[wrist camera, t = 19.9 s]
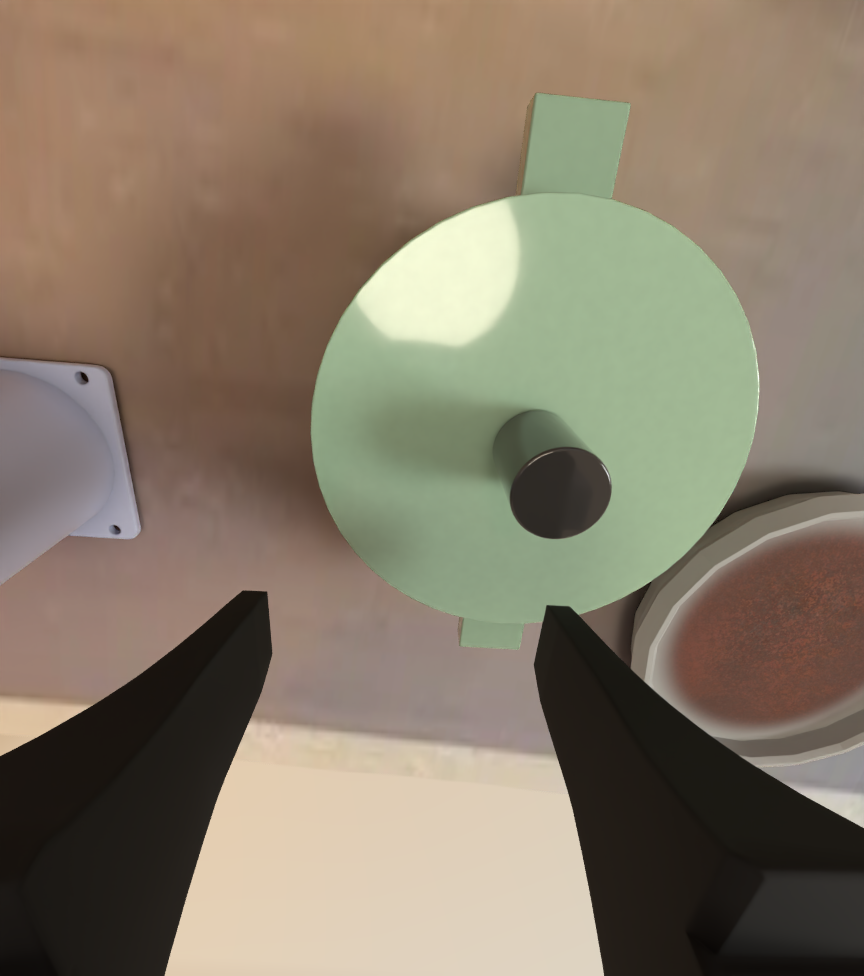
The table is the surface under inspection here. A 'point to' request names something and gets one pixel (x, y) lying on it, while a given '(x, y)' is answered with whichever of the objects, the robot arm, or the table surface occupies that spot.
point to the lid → (534, 407)
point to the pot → (570, 169)
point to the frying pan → (765, 630)
